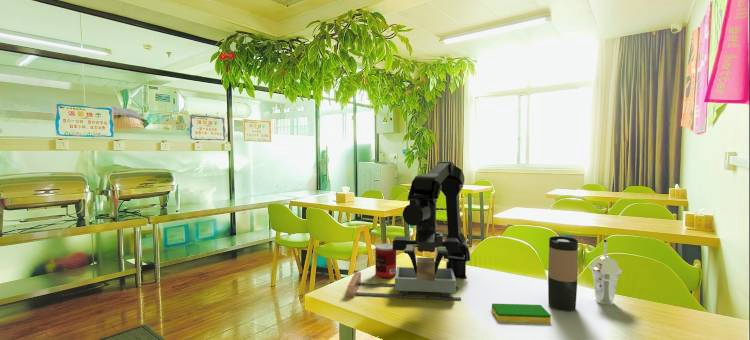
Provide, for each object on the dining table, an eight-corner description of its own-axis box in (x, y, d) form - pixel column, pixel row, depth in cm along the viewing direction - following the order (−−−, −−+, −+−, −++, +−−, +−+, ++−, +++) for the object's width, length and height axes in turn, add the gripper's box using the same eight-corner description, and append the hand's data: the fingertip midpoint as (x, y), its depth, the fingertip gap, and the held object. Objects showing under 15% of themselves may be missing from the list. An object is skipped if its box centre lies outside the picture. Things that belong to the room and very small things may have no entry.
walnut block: (434, 274, 106) (434, 258, 106) (434, 280, 101) (434, 263, 101) (416, 274, 106) (416, 257, 106) (416, 280, 102) (416, 262, 101)
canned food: (396, 272, 137) (396, 243, 137) (395, 279, 129) (395, 249, 129) (376, 271, 138) (376, 243, 138) (374, 278, 130) (374, 248, 130)
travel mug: (573, 303, 109) (575, 237, 108) (579, 313, 102) (580, 243, 101) (546, 299, 111) (547, 235, 110) (549, 309, 104) (550, 241, 103)
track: (457, 286, 122) (457, 276, 122) (461, 302, 109) (461, 290, 109) (355, 282, 126) (355, 272, 126) (348, 296, 114) (348, 285, 113)
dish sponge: (491, 311, 104) (491, 303, 104) (540, 312, 103) (540, 304, 103) (498, 322, 97) (498, 313, 97) (551, 324, 96) (551, 315, 96)
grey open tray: (452, 284, 122) (452, 268, 122) (455, 298, 110) (455, 280, 110) (397, 282, 124) (397, 266, 124) (394, 295, 112) (394, 278, 112)
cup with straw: (627, 303, 108) (629, 237, 107) (610, 310, 104) (612, 241, 103) (598, 294, 116) (599, 232, 115) (581, 299, 111) (582, 235, 110)
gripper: (391, 224, 96) (391, 282, 97) (462, 226, 94) (462, 285, 95) (394, 217, 107) (393, 269, 108) (458, 218, 105) (457, 271, 106)
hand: (425, 273), depth 104 cm, fingers closed on walnut block, 5 cm apart
